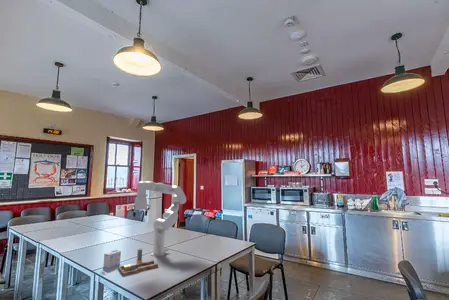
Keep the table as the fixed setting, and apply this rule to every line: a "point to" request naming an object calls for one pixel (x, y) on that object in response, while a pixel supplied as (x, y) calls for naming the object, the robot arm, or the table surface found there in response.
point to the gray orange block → (139, 256)
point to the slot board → (140, 267)
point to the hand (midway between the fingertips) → (140, 216)
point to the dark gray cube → (132, 266)
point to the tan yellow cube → (126, 268)
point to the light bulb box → (112, 258)
